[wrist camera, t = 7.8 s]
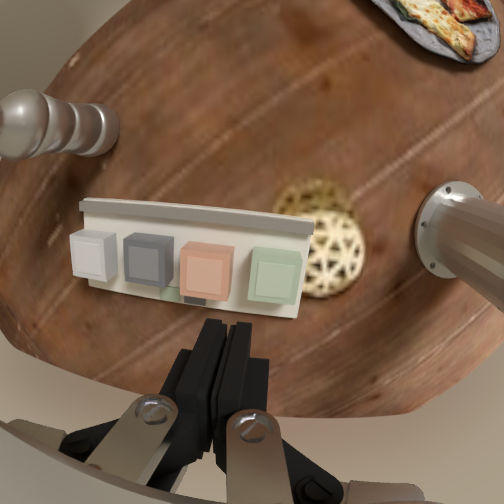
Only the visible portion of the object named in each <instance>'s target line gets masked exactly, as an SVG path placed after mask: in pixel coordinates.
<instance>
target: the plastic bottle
mask: <svg viewBox="0 0 504 504" xmlns="http://www.w3.org/2000/svg"><path fill="white" fill-rule="evenodd" d="M119 131H120V124H119V119H118V117H117V115H116V113H115V112H114V111H113V110H111V109H110V108H108V107H107V106H105V105H102V104H76V103H69V102H65V101H61V100H58V99H55V98H52V97H50V96H48V95H45V94H43V93H40V92H38V91H35V90H31V89H24V90H19V91H16V92H13V93H11V94H10V95H8V96H7V97H5V98H4V99H3V100H1V101H0V156H1V157H2V158H4V159H7V160H10V161H20V160H25V159H29V158H32V157H36V156H39V155H43V154H50V153H58V152H65V153H74V154H77V155H80V156H86V157H95V156H98V155H101V154H104V153H106V152H107V151H109V150H110V149H111V148H112V147H113V145H114V144H115V142H116V141H117V138H118V135H119Z"/></svg>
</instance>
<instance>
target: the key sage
mask: <svg viewBox="0 0 504 504" xmlns="http://www.w3.org/2000/svg"><path fill="white" fill-rule="evenodd" d="M302 262H303V259H302V256H301V252H300V251H292V250H284V249H276V248H267V247H259V246H254V249H253V254H252V262H251V272H250V281H249V290H248V299H247V300H253V301H261V302H270V303H278V304H288V305H295V302H296V297H297V291H298V286H299V280H300V274H301V268H302Z"/></svg>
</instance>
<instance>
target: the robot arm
mask: <svg viewBox="0 0 504 504" xmlns="http://www.w3.org/2000/svg"><path fill="white" fill-rule="evenodd" d="M421 224H422V225H421ZM414 238H415V247H416V251H417V254H418V256H419V259H420V261H421V262H422V264H423V265H424V267H425V268H427V269H428V270H429V271H430V272H431V273H433V274H434V275H435V276H438V277H441V278H446V279H450V278H456V277H458V278H460V279H461V280H462V281H464V282H465V283H466V284H468V285H469V286H470V287H472V288H473V289H474V290H476V291H477V292H478V293H479V294H481V295H482V296H483V297H484V298H486V299H487V300H488V301H489V302H491V303H492V304H493V305H494V306H495V307H497V308H498V309H499V310H500V311H501V312H503V313H504V205H500V204H497V203H493V202H490V201H486V200H484V199H483V197H482V195H481V194H480V193H479V191H478V190H477V189H476V188H474V187H473V186H472V185H470V184H468V183H465V182H461V181H449V182H445V183H443V184H441V185H439V186H437V187H436V188H435V189H433V190H432V191H431V192H430V193H429V195H428V196H427V197H426V198H425V200H424V202H423V203H422V205H421V207H420V210H419V212H418V215H417V219H416V223H415V232H414ZM251 333H252V323H246V322H237V324H236V325H231V327H230V330H229V334H228V337H227V324H222V320H218V319H210V318H207V319H206V321H205V323H204V325H203V328H202V330H201V332H200V334H199V337H198V339H197V341H196V344H195V346H194V348H193V350H187V349H181V350H180V352H179V354H178V356H177V358H176V360H175V362H174V364H173V366H172V368H171V370H170V372H169V374H168V376H167V378H166V381H165V383H164V385H163V387H162V389H161V391H160V393H159V394H148V395H144V396H141V397H139V398H137V399H136V400H135V401H134V402H133V403H132V404H131V405H130V407H129V408H128V409H127V410H126V411H125V413H124V414H123V415H122V417H121V418H119V419H116V420H113V421H110V422H107V423H103V424H100V425H96V426H93V427H90V428H86V429H82V430H79V431H75V432H72V433H70V434H66V432H65V431H64V430H59V429H55V428H51V427H47V426H43V425H40V424H36V423H32V422H29V421H26V420H21V419H16V420H12V421H10V422H9V423H8V424H7V423H5V422H3V421H0V504H442V503H437V502H430V501H425V498H424V494H423V492H422V490H421V489H420V488H419V487H417V486H416V485H414V484H409V483H380V482H364V481H353V480H351V481H350V482H349V483H347V482H346V483H345V482H340V481H338V480H337V479H336V478H335V477H334V476H332V475H331V474H329V473H328V472H327V471H325V470H323V469H322V468H321V467H319V466H318V465H316V464H315V463H314V462H312V461H311V460H310V459H308V458H307V457H305V456H304V455H303V454H301V453H300V452H299V451H297V450H296V449H295V448H293V447H292V446H291V445H290V444H288V443H287V442H286V441H285V440H283V439H282V438H281V433H280V427H279V424H278V422H277V420H276V419H275V418H274V417H273V416H272V415H270V414H269V413H267V412H266V407H267V392H268V375H269V359H261V358H250V346H251ZM212 439H213V453H215V454H216V464H217V466H218V467H219V468H220V469H221V470H222V471H223V472H224V473H225V474H226V486H227V503H221V502H215V501H208V500H203V499H198V498H192V497H188V496H183V495H178V494H175V492H176V490H177V488H178V486H179V484H180V482H181V481H182V479H183V477H184V475H185V473H186V471H187V467H188V464H190V463H193V462H195V461H196V460H197V459H202V456H203V452H209V451H210V447H211V443H212Z"/></svg>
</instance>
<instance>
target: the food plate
mask: <svg viewBox="0 0 504 504" xmlns="http://www.w3.org/2000/svg"><path fill="white" fill-rule="evenodd" d="M372 1H373V2H374V3H375V4H376V5H377V6H378V7H379V8H380V9H382V11H383V12H385V13H386V14H387V15H388V16H389V17H390V18H392V19H393V20H394V21H395V22H396V23H397V24H398V25H399V26H400V27H401V28H402V29H404V31H405V32H406V33H408V35H409V36H410V37H413V40H415V41H416V42H417V43H418V44H420V45H421V46H423V48H425V49H426V50H429V51H430V52H431V53H434V54H436V55H438V56H441V57H444V58H448V59H451V60H453V61H455V62H459V63H462V64H464V65H465V64H469V63H470V64H476V65H477V64H481V63H483V62H484V61H485V62H486V61H488V60H489V59H490V58H492V57H494V56H495V55H496V53H497V52H498V50H499V49H500V42H501V40H500V39H501V38H500V23H499V20H498V18H497V16H496V14H495V12H494V11H493V7H492V5H491V3H490V2H489V0H372ZM444 7H446V8H447V10H446V9H445V8H444Z"/></svg>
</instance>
